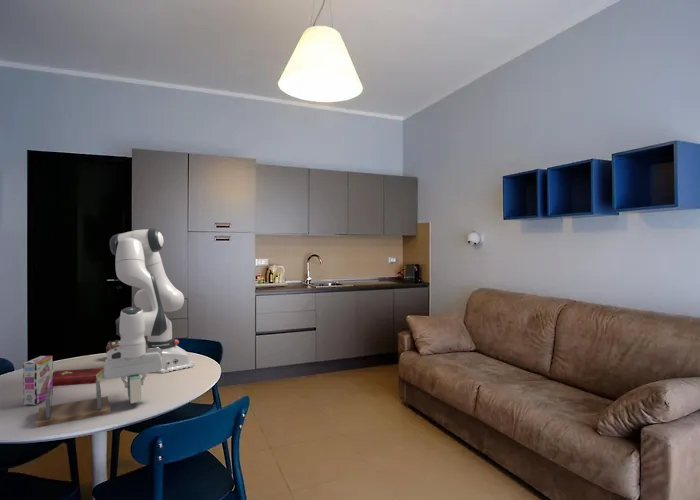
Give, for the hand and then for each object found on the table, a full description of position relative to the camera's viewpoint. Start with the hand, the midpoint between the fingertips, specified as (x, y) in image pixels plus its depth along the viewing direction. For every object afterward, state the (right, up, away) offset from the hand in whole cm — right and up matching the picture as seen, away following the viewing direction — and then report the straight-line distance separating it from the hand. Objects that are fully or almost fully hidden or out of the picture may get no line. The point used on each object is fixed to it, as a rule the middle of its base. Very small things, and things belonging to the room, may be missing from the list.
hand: (134, 386), depth 168 cm
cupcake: (-40, -6, +63) cm, 75 cm away
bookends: (-17, -6, -8) cm, 20 cm away
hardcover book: (-40, -7, +28) cm, 49 cm away
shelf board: (-17, -7, -8) cm, 21 cm away
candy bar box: (-39, -7, +4) cm, 40 cm away
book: (0, -5, 0) cm, 5 cm away
